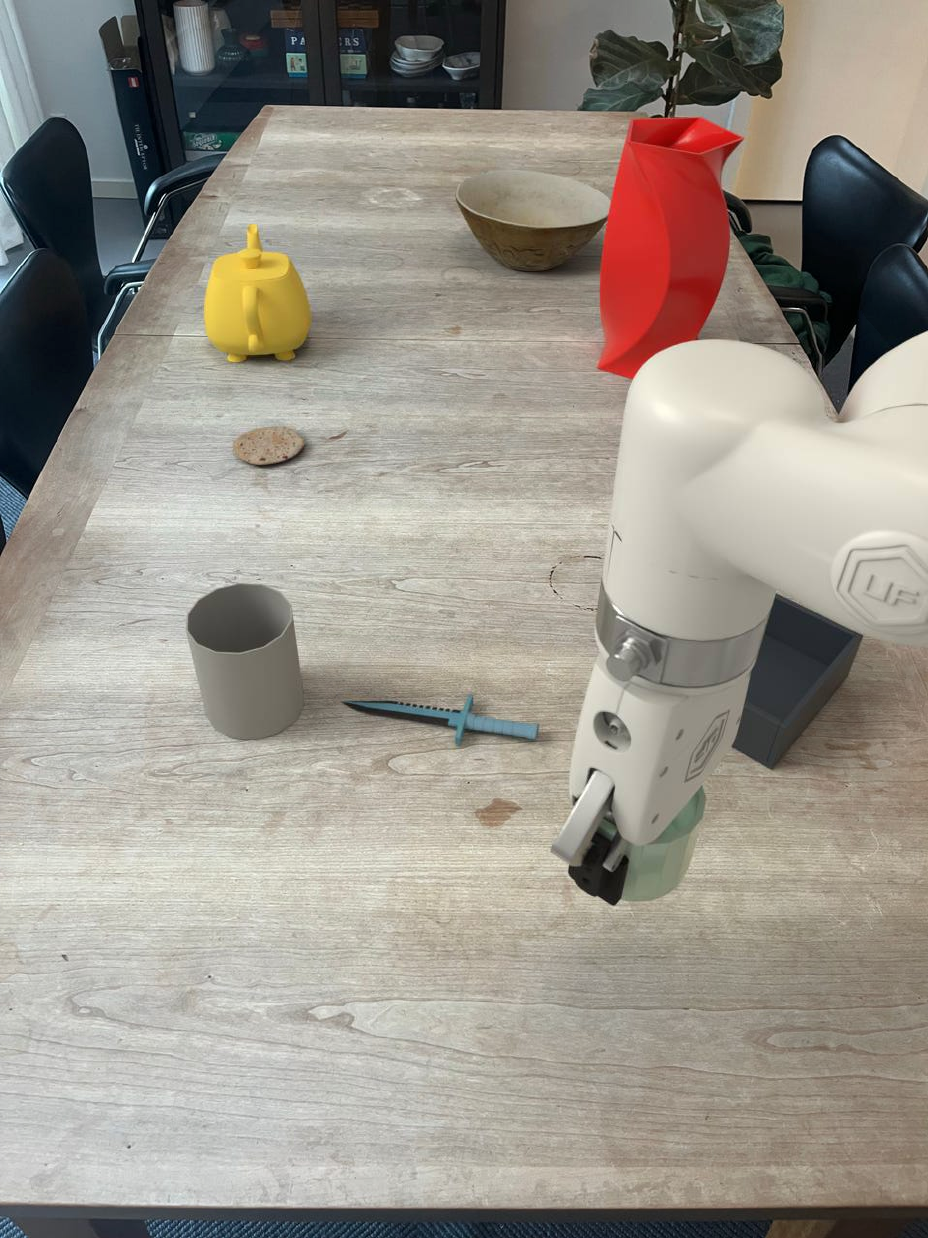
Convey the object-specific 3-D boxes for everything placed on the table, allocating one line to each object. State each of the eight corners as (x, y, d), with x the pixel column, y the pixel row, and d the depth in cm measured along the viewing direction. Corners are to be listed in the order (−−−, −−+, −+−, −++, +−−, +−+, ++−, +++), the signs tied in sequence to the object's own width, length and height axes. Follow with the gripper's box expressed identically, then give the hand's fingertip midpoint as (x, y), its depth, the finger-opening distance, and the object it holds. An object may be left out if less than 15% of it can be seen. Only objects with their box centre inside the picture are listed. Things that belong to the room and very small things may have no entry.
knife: (330, 718, 84) (349, 676, 88) (332, 727, 85) (350, 686, 88) (532, 747, 81) (542, 703, 84) (532, 757, 82) (542, 712, 85)
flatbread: (239, 472, 111) (238, 465, 111) (229, 437, 116) (227, 430, 116) (311, 460, 113) (311, 452, 113) (297, 426, 118) (297, 418, 118)
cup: (305, 734, 83) (293, 648, 77) (205, 745, 82) (184, 659, 76) (301, 663, 90) (289, 578, 83) (207, 673, 89) (188, 587, 82)
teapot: (204, 379, 127) (187, 282, 118) (215, 309, 141) (200, 218, 133) (314, 374, 128) (304, 278, 119) (313, 305, 142) (304, 215, 134)
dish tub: (847, 676, 89) (864, 635, 86) (771, 770, 81) (786, 728, 78) (709, 606, 96) (719, 565, 93) (626, 686, 88) (633, 644, 85)
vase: (614, 325, 139) (640, 108, 120) (717, 344, 135) (761, 123, 117) (583, 375, 129) (607, 145, 110) (694, 397, 125) (739, 163, 106)
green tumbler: (710, 844, 58) (728, 785, 55) (648, 925, 54) (663, 867, 51) (612, 784, 61) (623, 725, 58) (547, 856, 58) (554, 797, 54)
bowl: (615, 237, 162) (623, 173, 156) (595, 299, 145) (602, 230, 139) (474, 222, 166) (475, 159, 159) (438, 280, 149) (438, 212, 142)
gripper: (648, 771, 39) (600, 994, 51) (838, 557, 49) (761, 786, 61) (497, 681, 42) (485, 909, 54) (703, 498, 52) (655, 725, 64)
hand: (631, 842), depth 57 cm, fingers closed on green tumbler, 6 cm apart
